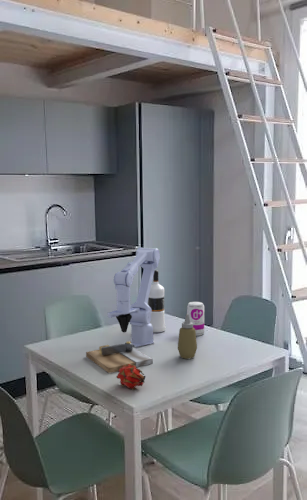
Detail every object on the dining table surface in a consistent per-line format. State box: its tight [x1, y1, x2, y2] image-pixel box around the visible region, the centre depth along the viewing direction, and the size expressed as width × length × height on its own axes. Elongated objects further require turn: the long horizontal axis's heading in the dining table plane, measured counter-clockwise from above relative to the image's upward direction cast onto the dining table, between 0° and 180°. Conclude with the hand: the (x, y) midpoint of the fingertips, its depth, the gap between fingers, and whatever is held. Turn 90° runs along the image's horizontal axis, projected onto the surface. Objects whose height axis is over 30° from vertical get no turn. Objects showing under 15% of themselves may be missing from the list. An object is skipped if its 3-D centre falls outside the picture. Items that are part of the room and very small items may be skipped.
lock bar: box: [101, 340, 134, 355], centre depth 198 cm, size 14×3×4 cm, turn 119°
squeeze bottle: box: [177, 313, 198, 360], centre depth 198 cm, size 8×8×18 cm
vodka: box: [147, 269, 167, 334], centre depth 235 cm, size 9×9×30 cm
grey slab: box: [85, 344, 154, 374], centre depth 196 cm, size 19×22×5 cm
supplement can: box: [186, 301, 205, 337], centre depth 230 cm, size 8×8×15 cm
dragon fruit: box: [115, 364, 146, 391], centre depth 169 cm, size 8×8×12 cm
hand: (124, 331), depth 203 cm, fingers closed
